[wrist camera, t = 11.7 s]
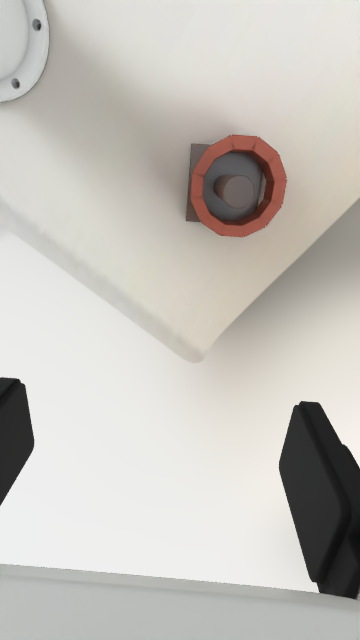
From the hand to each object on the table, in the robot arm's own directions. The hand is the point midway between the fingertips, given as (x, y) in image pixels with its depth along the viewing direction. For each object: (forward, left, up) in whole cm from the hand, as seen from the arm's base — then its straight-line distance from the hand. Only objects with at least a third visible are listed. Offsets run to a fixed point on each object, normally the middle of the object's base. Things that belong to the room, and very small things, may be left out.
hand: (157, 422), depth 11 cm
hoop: (+5, +7, -30) cm, 31 cm away
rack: (+4, +7, -31) cm, 32 cm away
